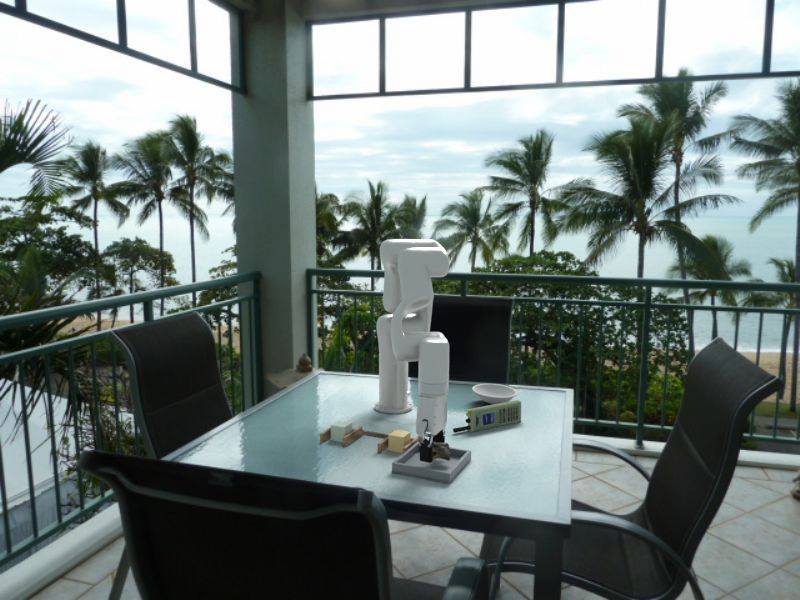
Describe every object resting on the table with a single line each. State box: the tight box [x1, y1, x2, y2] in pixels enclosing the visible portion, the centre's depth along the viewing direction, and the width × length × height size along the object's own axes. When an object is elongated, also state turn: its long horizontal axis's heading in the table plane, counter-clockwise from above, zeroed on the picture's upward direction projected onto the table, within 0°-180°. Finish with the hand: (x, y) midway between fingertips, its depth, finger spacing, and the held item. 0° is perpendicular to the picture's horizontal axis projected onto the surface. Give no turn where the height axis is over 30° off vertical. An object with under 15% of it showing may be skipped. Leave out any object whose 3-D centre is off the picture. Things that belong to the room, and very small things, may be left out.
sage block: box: [330, 419, 353, 443], centre depth 168 cm, size 4×4×4 cm
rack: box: [319, 426, 419, 454], centre depth 165 cm, size 12×26×2 cm, turn 65°
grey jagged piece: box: [427, 439, 451, 461], centre depth 148 cm, size 8×6×7 cm
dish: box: [471, 383, 519, 405], centre depth 201 cm, size 18×14×5 cm
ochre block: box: [387, 429, 412, 454], centre depth 160 cm, size 4×4×4 cm
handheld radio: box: [452, 400, 522, 434], centre depth 178 cm, size 7×3×25 cm
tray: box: [391, 442, 472, 485], centre depth 149 cm, size 16×15×2 cm
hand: (432, 455), depth 149 cm, fingers closed on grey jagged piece, 7 cm apart
